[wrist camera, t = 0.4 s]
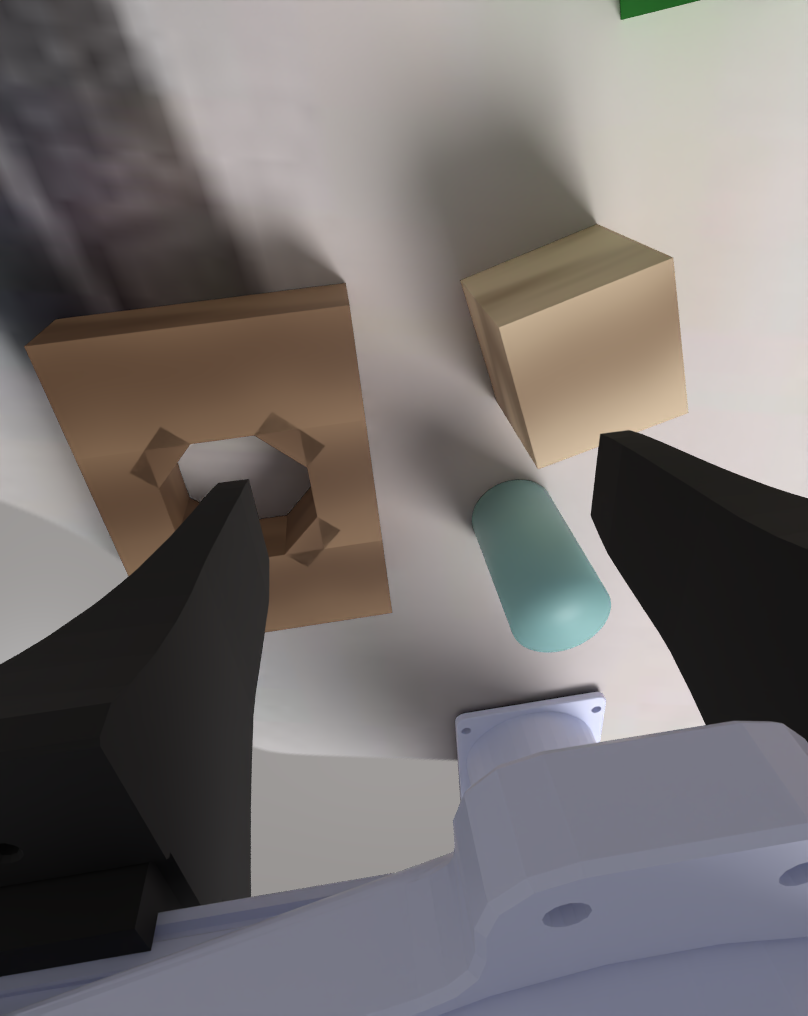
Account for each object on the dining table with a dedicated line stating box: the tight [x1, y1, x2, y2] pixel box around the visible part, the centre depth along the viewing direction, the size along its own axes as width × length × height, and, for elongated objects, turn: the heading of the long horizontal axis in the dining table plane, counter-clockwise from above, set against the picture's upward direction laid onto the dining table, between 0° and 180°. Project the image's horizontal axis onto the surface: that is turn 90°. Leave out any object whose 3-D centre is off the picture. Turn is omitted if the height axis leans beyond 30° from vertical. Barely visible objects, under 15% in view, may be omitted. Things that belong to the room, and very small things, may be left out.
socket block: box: [24, 283, 392, 632], centre depth 21 cm, size 12×9×2 cm
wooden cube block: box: [460, 224, 688, 469], centre depth 19 cm, size 5×5×5 cm
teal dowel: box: [472, 480, 611, 652], centre depth 23 cm, size 3×3×6 cm
